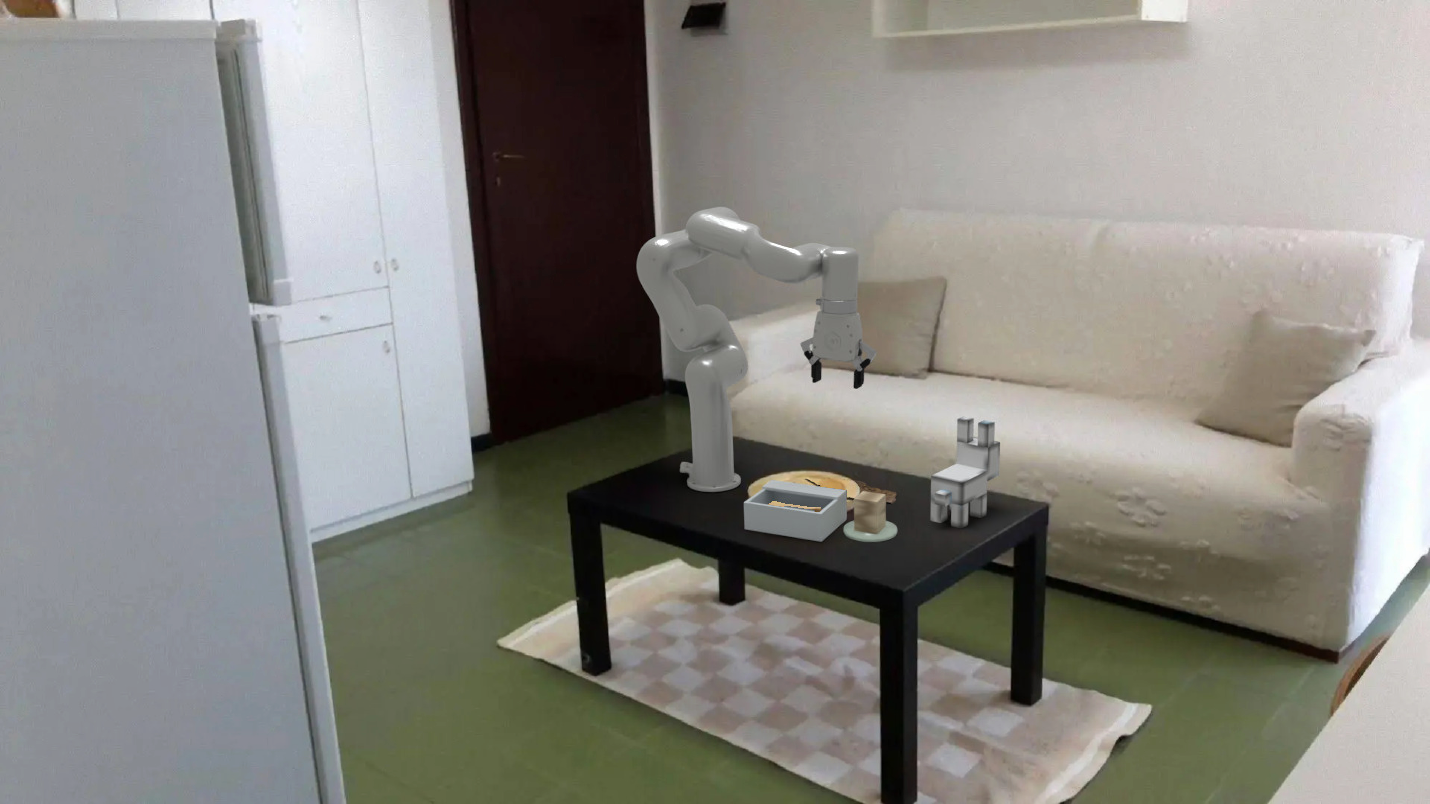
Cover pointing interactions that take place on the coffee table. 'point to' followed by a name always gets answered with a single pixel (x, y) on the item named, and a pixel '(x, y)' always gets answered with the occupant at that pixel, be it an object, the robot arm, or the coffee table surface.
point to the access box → (796, 510)
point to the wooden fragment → (877, 491)
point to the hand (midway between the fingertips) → (837, 384)
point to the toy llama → (966, 474)
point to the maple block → (869, 512)
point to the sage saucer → (883, 535)
